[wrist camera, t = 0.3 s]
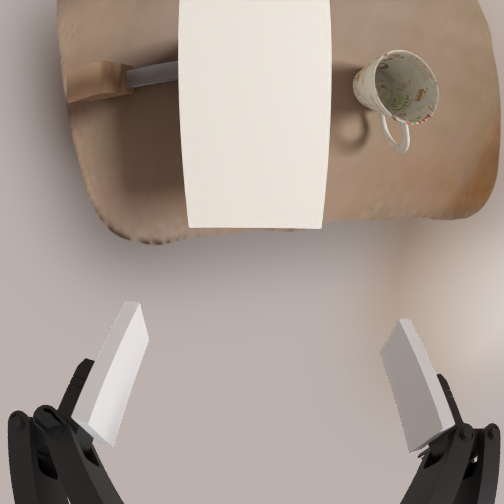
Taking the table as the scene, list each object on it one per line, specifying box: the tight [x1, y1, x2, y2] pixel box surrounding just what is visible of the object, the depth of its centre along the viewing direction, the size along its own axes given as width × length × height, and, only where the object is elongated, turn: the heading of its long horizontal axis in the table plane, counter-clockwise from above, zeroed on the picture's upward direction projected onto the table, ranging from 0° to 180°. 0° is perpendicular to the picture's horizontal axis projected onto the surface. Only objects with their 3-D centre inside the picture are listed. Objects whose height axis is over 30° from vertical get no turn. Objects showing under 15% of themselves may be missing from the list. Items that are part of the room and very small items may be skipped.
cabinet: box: [178, 0, 331, 229], centre depth 23 cm, size 20×10×17 cm, turn 0°
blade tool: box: [67, 61, 179, 103], centre depth 24 cm, size 4×15×9 cm, turn 90°
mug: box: [353, 50, 439, 154], centre depth 25 cm, size 8×13×10 cm, turn 17°
